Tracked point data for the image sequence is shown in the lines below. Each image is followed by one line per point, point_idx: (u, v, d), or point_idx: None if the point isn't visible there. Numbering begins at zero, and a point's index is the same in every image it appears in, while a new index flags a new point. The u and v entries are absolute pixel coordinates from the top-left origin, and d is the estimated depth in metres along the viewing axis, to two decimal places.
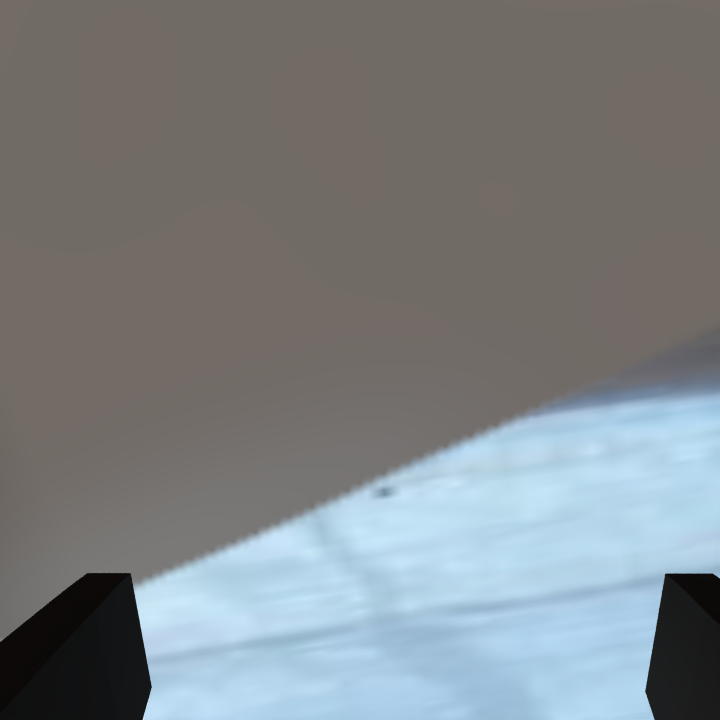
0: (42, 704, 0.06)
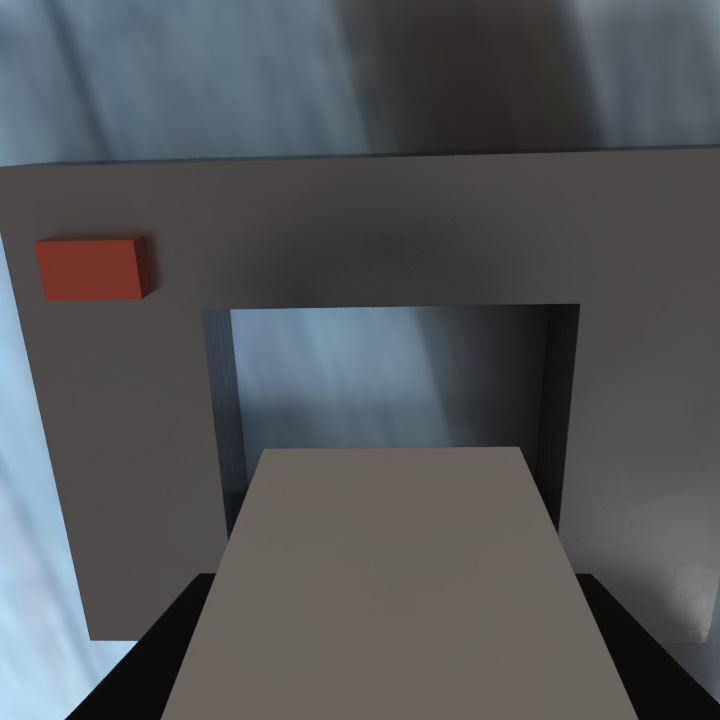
0: None
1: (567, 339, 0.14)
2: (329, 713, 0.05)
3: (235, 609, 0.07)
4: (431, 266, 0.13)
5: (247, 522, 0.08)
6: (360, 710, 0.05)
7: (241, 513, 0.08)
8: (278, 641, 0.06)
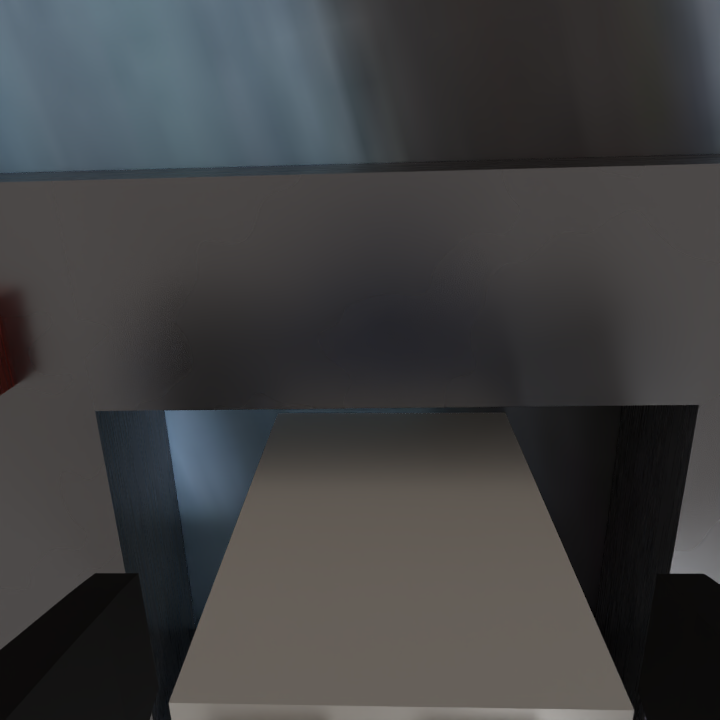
0: (52, 704, 0.06)
1: (666, 449, 0.09)
2: (340, 606, 0.07)
3: (260, 533, 0.08)
4: (461, 347, 0.08)
5: (267, 469, 0.09)
6: (365, 605, 0.07)
7: (260, 463, 0.10)
8: (296, 556, 0.07)
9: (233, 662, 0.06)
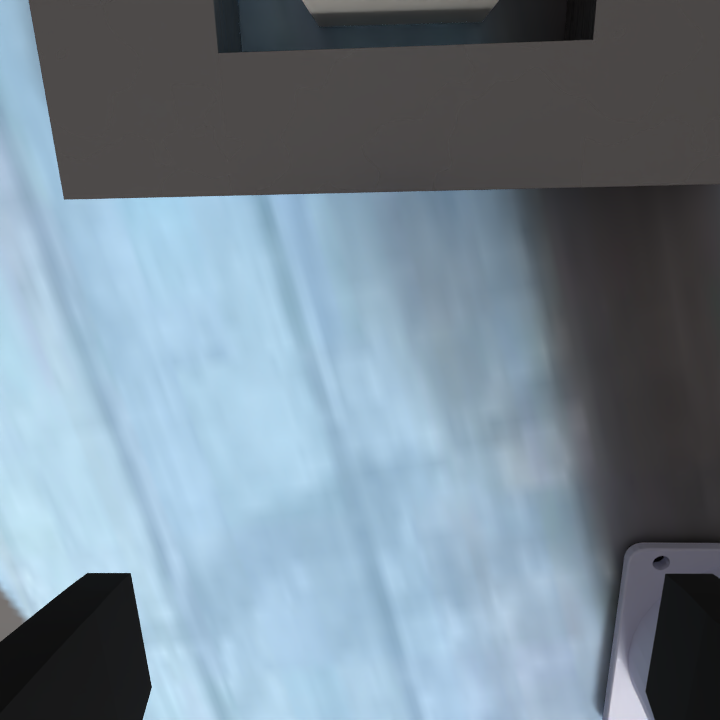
0: (42, 704, 0.06)
1: None
2: None
3: None
4: None
5: None
6: None
7: None
8: None
9: None
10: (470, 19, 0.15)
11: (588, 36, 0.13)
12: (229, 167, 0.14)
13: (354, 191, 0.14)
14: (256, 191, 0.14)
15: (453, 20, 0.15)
